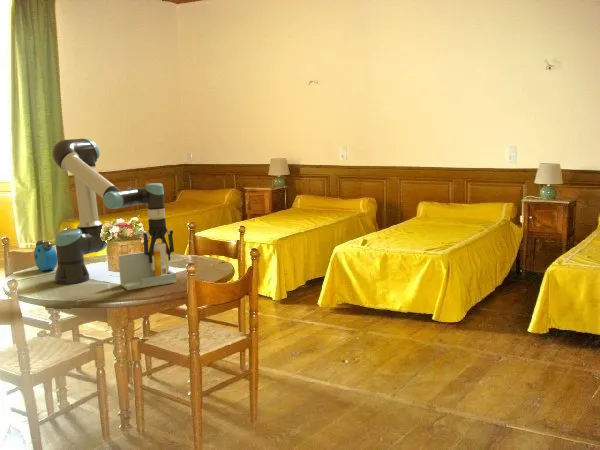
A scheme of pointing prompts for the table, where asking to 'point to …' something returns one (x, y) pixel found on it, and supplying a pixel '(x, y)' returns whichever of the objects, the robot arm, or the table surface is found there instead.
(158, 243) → the beer can
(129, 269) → the stand
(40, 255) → the alarm clock
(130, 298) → the table surface
